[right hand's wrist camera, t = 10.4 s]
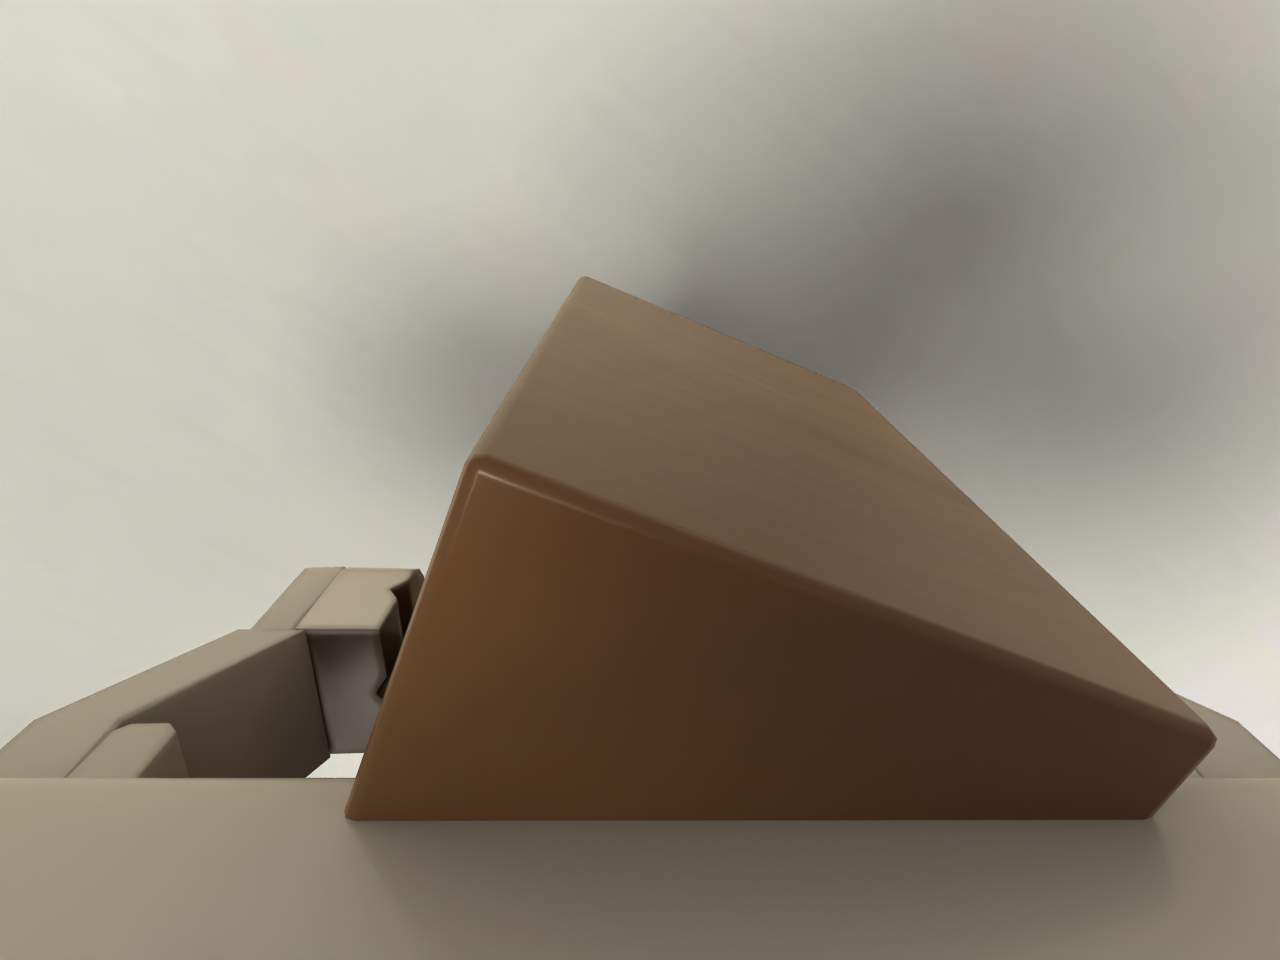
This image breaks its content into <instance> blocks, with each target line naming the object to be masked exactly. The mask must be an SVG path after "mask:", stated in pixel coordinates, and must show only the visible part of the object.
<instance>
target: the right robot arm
mask: <svg viewBox="0 0 1280 960" xmlns="http://www.w3.org/2000/svg"><path fill="white" fill-rule="evenodd" d="M423 582H424V576H423V574H422V573H421V571H420V569H400V568H345V567H316V568H305V569H304V570H303V571H302V572H301V573H300V574H299V576H298V577H297V578H296V579H295V580H294V581H293V582H292V583H291V585H290V586H289V587H288V588H287V589H286V590H285V591H284V592H283V594H282V595H281V596H280V597H279V598H278V599H277V600H276V602H275V603H274V604H273V605H272V606H271V607H270V608H269V609H268V611H267V612H266V613H265V614H264V615H263V616H262V617H261V618H260V620H259V621H258V622H257V623H256V624H255V625H254V626H253V627H252V629H251V630H237V631H234V632H232V633H230V634H228V635H225V636H223V637H221V638H219V639H216V640H214V641H212V642H210V643H207V644H205V645H203V646H201V647H198V648H196V649H194V650H191V651H189V652H187V653H185V654H182V655H180V656H178V657H176V658H173V659H171V660H169V661H167V662H164V663H162V664H160V665H158V666H155V667H153V668H151V669H149V670H146V671H144V672H142V673H140V674H137V675H135V676H133V677H131V678H128V679H126V680H124V681H122V682H119V683H117V684H115V685H113V686H110V687H108V688H106V689H104V690H101V691H99V692H97V693H95V694H92V695H90V696H88V697H86V698H83V699H81V700H79V701H76V702H74V703H72V704H70V705H67V706H65V707H63V708H61V709H58V710H56V711H54V712H52V713H49V714H47V715H45V716H43V717H40V718H38V719H36V720H34V721H33V722H31V723H30V724H29V725H28V726H27V727H26V728H25V729H23V730H22V731H21V732H20V733H19V734H18V735H17V736H15V737H14V738H13V739H12V740H11V741H10V742H9V743H7V744H6V745H5V746H4V747H3V748H2V749H1V750H0V960H1280V759H1279V758H1278V757H1277V756H1276V755H1274V754H1273V753H1272V752H1271V751H1270V750H1269V749H1268V748H1267V747H1265V746H1264V745H1263V744H1262V743H1261V742H1260V741H1259V740H1258V739H1257V738H1255V737H1254V736H1253V735H1252V734H1251V733H1250V732H1249V731H1248V730H1247V729H1245V728H1244V727H1243V726H1242V725H1241V724H1240V723H1239V722H1238V721H1235V720H1233V719H1231V718H1229V717H1227V716H1224V715H1222V714H1220V713H1218V712H1215V711H1213V710H1211V709H1209V708H1206V707H1204V706H1202V705H1200V704H1198V703H1195V702H1193V701H1191V700H1189V699H1186V698H1184V697H1182V696H1180V695H1178V694H1176V695H1177V696H1178V697H1179V698H1180V699H1181V700H1182V701H1183V702H1184V703H1185V704H1187V705H1188V706H1189V707H1190V708H1191V709H1192V710H1193V711H1194V712H1195V713H1196V714H1197V715H1198V716H1199V717H1200V718H1201V719H1202V720H1203V721H1204V722H1206V723H1207V724H1208V726H1209V727H1210V728H1211V729H1212V730H1213V731H1214V733H1215V735H1216V737H1217V741H1216V744H1215V747H1214V748H1213V750H1212V751H1211V752H1210V753H1209V754H1208V755H1207V756H1206V757H1205V758H1204V760H1203V761H1202V762H1201V763H1200V764H1199V765H1198V766H1197V767H1196V769H1195V770H1194V771H1193V772H1192V773H1191V774H1190V775H1189V776H1188V777H1187V779H1186V780H1185V781H1184V782H1183V783H1182V784H1181V785H1180V786H1179V787H1178V789H1177V790H1176V791H1175V792H1174V793H1173V794H1172V795H1171V796H1170V798H1169V799H1168V800H1167V801H1166V802H1165V803H1164V804H1163V805H1162V806H1161V808H1160V809H1159V810H1158V811H1157V812H1156V813H1155V814H1154V815H1153V816H1152V817H1150V818H1148V819H1145V820H716V821H354V820H351V819H347V818H345V813H344V810H345V807H346V804H347V801H348V799H349V796H350V793H351V790H352V787H353V784H354V781H355V778H306V777H307V776H308V775H309V774H310V773H312V772H313V771H314V770H315V769H317V768H318V767H319V766H320V765H321V764H323V763H324V762H325V761H326V760H327V759H329V758H330V754H339V753H364V752H365V750H366V747H367V744H368V741H369V738H370V735H371V732H372V729H373V727H374V724H375V721H376V718H377V715H378V712H379V709H380V706H381V703H382V701H383V698H384V695H385V692H386V689H387V686H388V683H389V680H390V678H391V675H392V672H393V669H394V666H395V663H396V660H397V657H398V654H399V652H400V649H401V646H402V643H403V640H404V637H405V634H406V631H407V629H408V626H409V623H410V620H411V617H412V614H413V611H414V608H415V605H416V603H417V600H418V597H419V594H420V591H421V588H422V585H423Z"/></svg>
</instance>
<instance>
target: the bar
mask: <svg viewBox="0 0 1280 960" xmlns="http://www.w3.org/2000/svg"><path fill="white" fill-rule="evenodd" d="M1216 741H1217V737H1216V735H1215V733H1214V731H1213V730H1212V729H1211V728H1210V727H1209V726H1208V724H1207V723H1206V722H1204V721H1203V720H1202V719H1201V718H1200V717H1199V716H1198V715H1197V714H1196V713H1195V712H1194V711H1193V710H1192V709H1191V708H1190V707H1189V706H1188V705H1187V704H1185V703H1184V702H1183V701H1182V700H1181V699H1180V698H1179V697H1178V696H1177V695H1176V694H1175V693H1174V692H1173V691H1172V690H1171V689H1170V688H1169V687H1168V686H1167V685H1165V684H1164V683H1163V682H1162V681H1161V680H1160V679H1159V678H1158V677H1157V676H1156V675H1155V674H1154V673H1153V672H1152V671H1151V670H1150V669H1149V668H1148V667H1146V666H1145V665H1144V664H1143V663H1142V662H1141V661H1140V660H1139V659H1138V658H1137V657H1136V656H1135V655H1134V654H1133V653H1132V652H1131V651H1130V650H1129V649H1128V648H1126V647H1125V646H1124V645H1123V644H1122V643H1121V642H1120V641H1119V640H1118V639H1117V638H1116V637H1115V636H1114V635H1113V634H1112V633H1111V632H1110V631H1109V630H1108V629H1106V628H1105V627H1104V626H1103V625H1102V624H1101V623H1100V622H1099V621H1098V620H1097V619H1096V618H1095V617H1094V616H1093V615H1092V614H1091V613H1090V612H1089V611H1087V610H1086V609H1085V608H1084V607H1083V606H1082V605H1081V604H1080V603H1079V602H1078V601H1077V600H1076V599H1075V598H1074V597H1073V596H1072V595H1071V594H1070V593H1069V592H1067V591H1066V590H1065V589H1064V588H1063V587H1062V586H1061V585H1060V584H1059V583H1058V582H1057V581H1056V580H1055V579H1054V578H1053V577H1052V576H1051V575H1050V574H1048V573H1047V572H1046V571H1045V570H1044V569H1043V568H1042V567H1041V566H1040V565H1039V564H1038V563H1037V562H1036V561H1035V560H1034V559H1033V558H1032V557H1031V556H1030V555H1028V554H1027V553H1026V552H1025V551H1024V550H1023V549H1022V548H1021V547H1020V546H1019V545H1018V544H1017V543H1016V542H1015V541H1014V540H1013V539H1012V538H1011V537H1010V536H1008V535H1007V534H1006V533H1005V532H1004V531H1003V530H1002V529H1001V528H1000V527H999V526H998V525H997V524H996V523H995V522H994V521H993V520H992V519H991V518H989V517H988V516H987V515H986V514H985V513H984V512H983V511H982V510H981V509H980V508H979V507H978V506H977V505H976V504H975V503H974V502H973V501H972V500H971V499H969V498H968V497H967V496H966V495H965V494H964V493H963V492H962V491H961V490H960V489H959V488H958V487H957V486H956V485H955V484H954V483H953V482H952V481H950V480H949V479H948V478H947V477H946V476H945V475H944V474H943V473H942V472H941V471H940V470H939V469H938V468H937V467H936V466H935V465H934V464H933V463H932V462H930V461H929V460H928V459H927V458H926V457H925V456H924V455H923V454H922V453H921V452H920V451H919V450H918V449H917V448H916V447H915V446H914V445H913V444H912V443H910V442H909V441H908V440H907V439H906V438H905V437H904V436H903V435H902V434H901V433H900V432H899V431H898V430H897V429H896V428H895V427H894V426H893V425H891V424H890V423H889V422H888V421H887V420H886V419H885V418H884V417H883V416H882V415H881V414H880V413H879V412H878V411H877V410H876V409H875V408H874V407H873V406H871V405H870V404H869V403H868V402H867V401H866V400H865V399H864V398H863V397H862V396H861V395H860V394H859V393H858V392H857V391H856V390H854V389H852V388H849V387H847V386H845V385H842V384H840V383H838V382H835V381H833V380H830V379H828V378H826V377H823V376H821V375H819V374H816V373H814V372H812V371H809V370H807V369H804V368H802V367H800V366H797V365H795V364H793V363H790V362H788V361H785V360H783V359H781V358H778V357H776V356H774V355H771V354H769V353H767V352H764V351H762V350H759V349H757V348H755V347H752V346H750V345H748V344H745V343H743V342H740V341H738V340H736V339H733V338H731V337H729V336H726V335H724V334H722V333H719V332H717V331H714V330H712V329H710V328H707V327H705V326H703V325H700V324H698V323H695V322H693V321H691V320H688V319H686V318H684V317H681V316H679V315H677V314H674V313H672V312H669V311H667V310H665V309H662V308H660V307H658V306H655V305H653V304H651V303H648V302H646V301H643V300H641V299H639V298H636V297H634V296H632V295H629V294H627V293H624V292H622V291H620V290H617V289H615V288H613V287H610V286H608V285H606V284H603V283H601V282H598V281H596V280H594V279H591V278H589V277H581V278H580V279H579V280H578V282H577V284H576V285H575V287H574V288H573V290H572V292H571V293H570V295H569V296H568V298H567V300H566V301H565V303H564V304H563V306H562V308H561V309H560V311H559V312H558V314H557V316H556V317H555V319H554V321H553V322H552V324H551V325H550V327H549V329H548V330H547V332H546V333H545V335H544V337H543V338H542V340H541V341H540V343H539V345H538V346H537V348H536V349H535V351H534V353H533V354H532V356H531V358H530V359H529V361H528V362H527V364H526V366H525V367H524V369H523V370H522V372H521V374H520V375H519V377H518V378H517V380H516V382H515V383H514V385H513V387H512V388H511V390H510V391H509V393H508V395H507V396H506V398H505V399H504V401H503V403H502V404H501V406H500V407H499V409H498V411H497V412H496V414H495V415H494V417H493V419H492V420H491V422H490V424H489V425H488V427H487V428H486V430H485V432H484V433H483V435H482V436H481V438H480V440H479V441H478V443H477V444H476V446H475V448H474V449H473V451H472V452H471V454H470V456H469V457H468V459H467V461H466V462H465V464H464V467H463V470H462V473H461V476H460V479H459V482H458V484H457V487H456V490H455V493H454V496H453V499H452V502H451V505H450V508H449V510H448V513H447V516H446V519H445V522H444V525H443V528H442V531H441V533H440V536H439V539H438V542H437V545H436V548H435V551H434V554H433V556H432V559H431V562H430V565H429V568H428V571H427V574H426V577H425V580H424V582H423V585H422V588H421V591H420V594H419V597H418V600H417V603H416V605H415V608H414V611H413V614H412V617H411V620H410V623H409V626H408V629H407V631H406V634H405V637H404V640H403V643H402V646H401V649H400V652H399V654H398V657H397V660H396V663H395V666H394V669H393V672H392V675H391V678H390V680H389V683H388V686H387V689H386V692H385V695H384V698H383V701H382V703H381V706H380V709H379V712H378V715H377V718H376V721H375V724H374V727H373V729H372V732H371V735H370V738H369V741H368V744H367V747H366V750H365V752H364V755H363V758H362V761H361V764H360V767H359V770H358V773H357V775H356V778H355V781H354V784H353V787H352V790H351V793H350V796H349V799H348V801H347V804H346V807H345V810H344V813H345V818H347V819H351V820H354V821H716V820H1145V819H1148V818H1150V817H1152V816H1153V815H1154V814H1155V813H1156V812H1157V811H1158V810H1159V809H1160V808H1161V806H1162V805H1163V804H1164V803H1165V802H1166V801H1167V800H1168V799H1169V798H1170V796H1171V795H1172V794H1173V793H1174V792H1175V791H1176V790H1177V789H1178V787H1179V786H1180V785H1181V784H1182V783H1183V782H1184V781H1185V780H1186V779H1187V777H1188V776H1189V775H1190V774H1191V773H1192V772H1193V771H1194V770H1195V769H1196V767H1197V766H1198V765H1199V764H1200V763H1201V762H1202V761H1203V760H1204V758H1205V757H1206V756H1207V755H1208V754H1209V753H1210V752H1211V751H1212V750H1213V748H1214V747H1215V744H1216Z"/></svg>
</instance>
